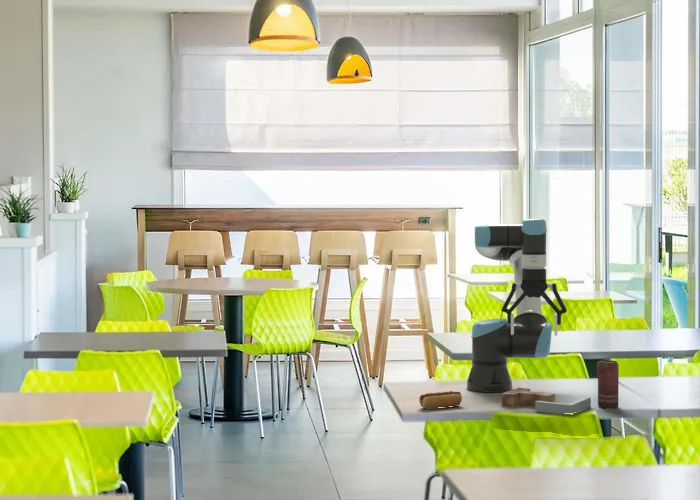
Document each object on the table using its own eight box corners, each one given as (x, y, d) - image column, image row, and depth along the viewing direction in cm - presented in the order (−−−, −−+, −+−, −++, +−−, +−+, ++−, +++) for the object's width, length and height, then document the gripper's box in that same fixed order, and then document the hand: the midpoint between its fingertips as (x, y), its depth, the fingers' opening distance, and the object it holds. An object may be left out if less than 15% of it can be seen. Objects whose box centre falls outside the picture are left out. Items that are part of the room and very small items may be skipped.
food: (424, 411, 322) (424, 395, 322) (416, 408, 327) (416, 392, 327) (465, 407, 328) (465, 391, 327) (456, 404, 333) (456, 388, 332)
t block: (501, 406, 328) (501, 393, 328) (518, 400, 338) (518, 387, 338) (544, 411, 320) (544, 397, 320) (560, 404, 330) (560, 391, 330)
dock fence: (535, 411, 319) (535, 401, 319) (555, 403, 332) (555, 393, 332) (571, 415, 313) (571, 405, 313) (590, 407, 325) (590, 397, 325)
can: (594, 405, 328) (594, 360, 328) (614, 404, 329) (614, 359, 328) (600, 409, 322) (600, 363, 322) (621, 408, 323) (621, 362, 322)
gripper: (493, 268, 335) (493, 335, 337) (574, 269, 330) (574, 337, 331) (495, 266, 343) (495, 332, 344) (574, 267, 337) (574, 333, 339)
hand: (534, 334), depth 338 cm, fingers open, 13 cm apart
